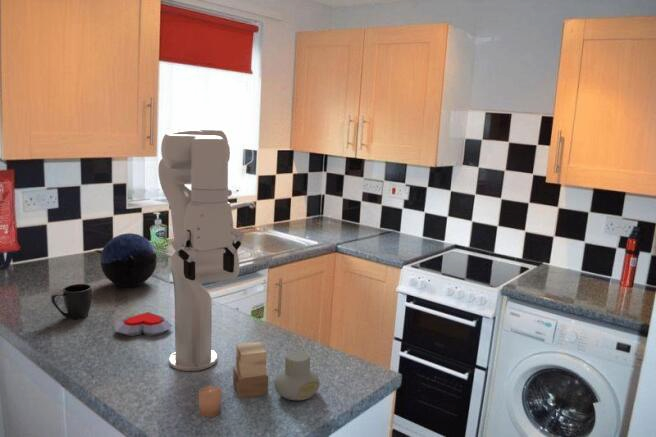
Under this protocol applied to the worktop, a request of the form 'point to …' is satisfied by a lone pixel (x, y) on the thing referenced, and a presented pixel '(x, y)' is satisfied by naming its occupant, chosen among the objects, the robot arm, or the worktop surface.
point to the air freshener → (297, 378)
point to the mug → (75, 301)
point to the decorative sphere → (128, 259)
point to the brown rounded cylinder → (209, 401)
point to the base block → (250, 385)
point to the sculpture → (143, 325)
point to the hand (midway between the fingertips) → (209, 275)
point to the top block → (250, 359)
